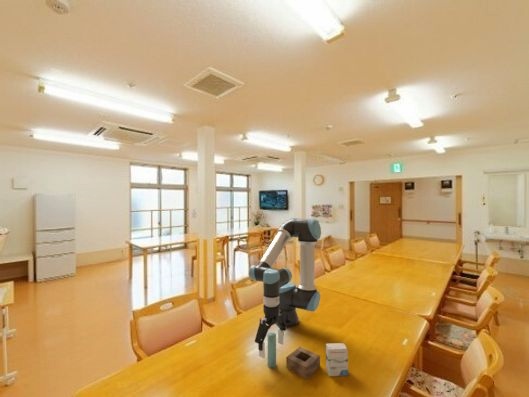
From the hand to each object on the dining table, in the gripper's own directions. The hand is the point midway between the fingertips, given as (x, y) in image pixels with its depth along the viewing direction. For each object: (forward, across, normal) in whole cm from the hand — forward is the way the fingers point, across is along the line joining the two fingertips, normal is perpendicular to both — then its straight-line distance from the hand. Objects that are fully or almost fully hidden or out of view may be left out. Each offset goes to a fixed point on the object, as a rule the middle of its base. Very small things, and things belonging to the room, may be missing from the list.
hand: (271, 349), depth 118 cm
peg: (+7, 0, 0) cm, 7 cm away
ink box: (+7, +15, -25) cm, 30 cm away
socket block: (+7, +8, -12) cm, 16 cm away
